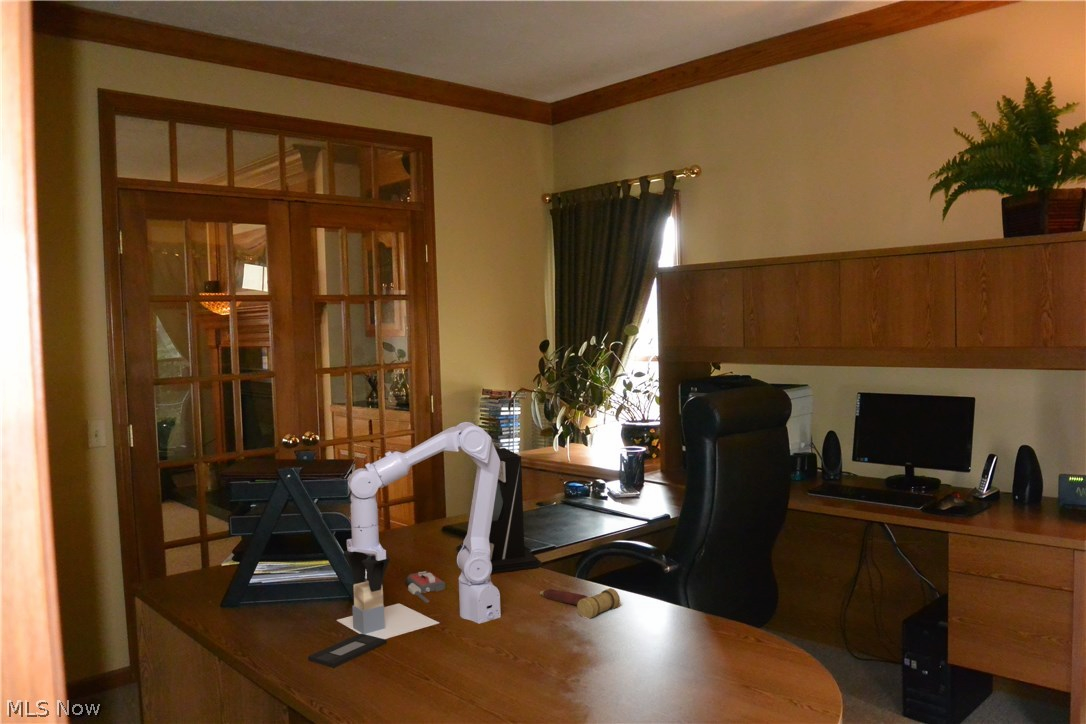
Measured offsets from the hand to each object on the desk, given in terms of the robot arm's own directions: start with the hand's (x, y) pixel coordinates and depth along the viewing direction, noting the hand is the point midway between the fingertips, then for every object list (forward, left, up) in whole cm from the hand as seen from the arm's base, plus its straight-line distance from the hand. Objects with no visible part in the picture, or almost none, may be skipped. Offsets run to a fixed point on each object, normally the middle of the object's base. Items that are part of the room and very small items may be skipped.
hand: (367, 586), depth 181 cm
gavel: (-17, -44, -11) cm, 48 cm away
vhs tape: (-9, +9, -11) cm, 17 cm away
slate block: (0, 0, -9) cm, 9 cm away
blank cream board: (+1, -5, -10) cm, 11 cm away
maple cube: (0, 0, -4) cm, 4 cm away
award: (+28, -55, -11) cm, 63 cm away
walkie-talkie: (+15, -23, -11) cm, 30 cm away
